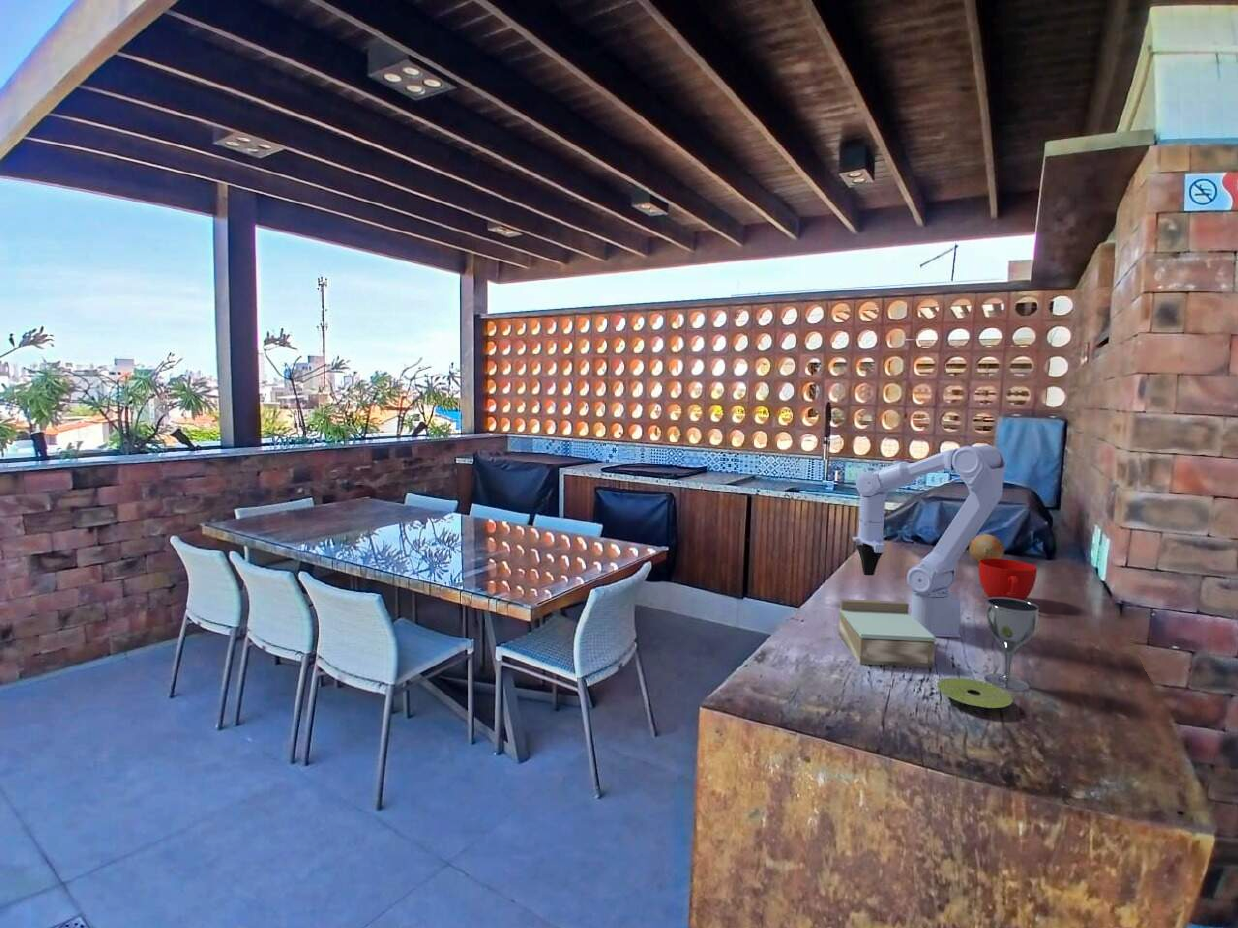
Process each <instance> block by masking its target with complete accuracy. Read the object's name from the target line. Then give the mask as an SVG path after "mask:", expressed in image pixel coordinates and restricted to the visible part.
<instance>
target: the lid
mask: <svg viewBox="0 0 1238 928" xmlns="http://www.w3.org/2000/svg"><path fill="white" fill-rule="evenodd" d="M839 603H840V607H839V613H842V614H843V616H844V617H845V618H846V620H847V621H848V622H849V623H850V625H851V626H852V627H853V628H854V630H855V631H856V632H857V633H858V635H859V636H860V637H861V638H870V639H891V640H912V641H933V642H935V643H936V640H937V639H936V638H937V637H936V636H933V635H932V634H931V633H930V632H929V631H928V630H927V629H925V628H924V627H923V626H922V625H921V624H920V623H919V622H918V621H916V620H915V619H914V618H913V617H912V616H911V613H909V608H910V607H909V605H910V604H909V603H908V602H907V601H894V600H892V601H891V600H872V599H871V600H869V599H867V600H866V599H847V598H846V599H844V598H840V602H839Z"/></svg>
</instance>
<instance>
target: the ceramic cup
mask: <svg viewBox="0 0 1238 928" xmlns="http://www.w3.org/2000/svg"><path fill="white" fill-rule="evenodd" d="M1037 571H1038V569H1037V567H1036V566H1035V565H1033V564H1030V563H1026V562H1022V561H1020V560H1013V559H1007V558H1005V559H1004V558H1001V559H982V560H980V561H979V563H978V576H979V582H980V585H981V588H982V590H983V592H984V593H985V594H986V596H987V597H988V599H989V598H992V597H1006V598H1014V599H1019V600H1023V601H1025V600H1026V599H1027V598H1028V596H1029V595H1030V594H1031V592H1032V591H1033V589H1034V585H1035V582H1036V579H1037Z"/></svg>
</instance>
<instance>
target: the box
mask: <svg viewBox="0 0 1238 928" xmlns="http://www.w3.org/2000/svg"><path fill="white" fill-rule="evenodd" d="M838 625H839V626H838V635H839V637H840V638H841V640H842V641H843V642H844V644H845V645H846V647H848V648H847V649H848V650H849V651H850V652H851V653H852V655H853V656H854V658H855V660H856V661H857V662H858V663H859V665H873V666H874V665H875V666H891V667H892V666H893V667H894V666H895V667H911V668H914V667H915V668H930V669H932V668H935V653H936V652H935V650H936V641H935V642H933V641H912V640H891V639H870V638H861V637H860V636H859V635H858V633H857V632H856V631H855V630H854V628H853V627H852V626H851V625H850V623H849V622H848V621H847V620H846V618H845V617H844V616H843V614H842V613H841V612H839V624H838Z"/></svg>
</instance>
